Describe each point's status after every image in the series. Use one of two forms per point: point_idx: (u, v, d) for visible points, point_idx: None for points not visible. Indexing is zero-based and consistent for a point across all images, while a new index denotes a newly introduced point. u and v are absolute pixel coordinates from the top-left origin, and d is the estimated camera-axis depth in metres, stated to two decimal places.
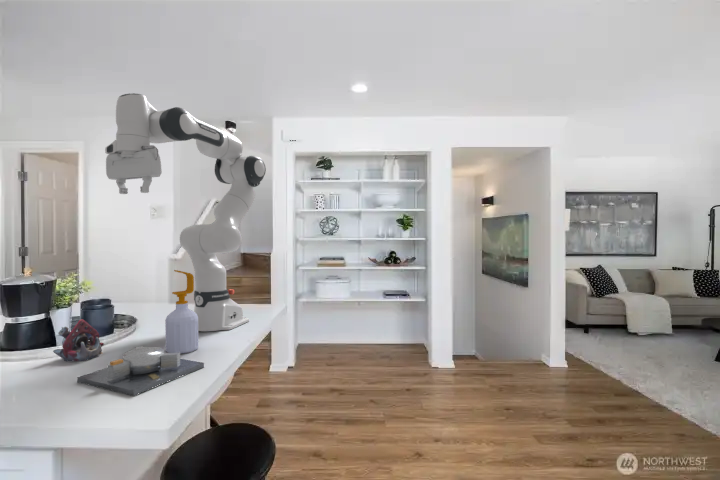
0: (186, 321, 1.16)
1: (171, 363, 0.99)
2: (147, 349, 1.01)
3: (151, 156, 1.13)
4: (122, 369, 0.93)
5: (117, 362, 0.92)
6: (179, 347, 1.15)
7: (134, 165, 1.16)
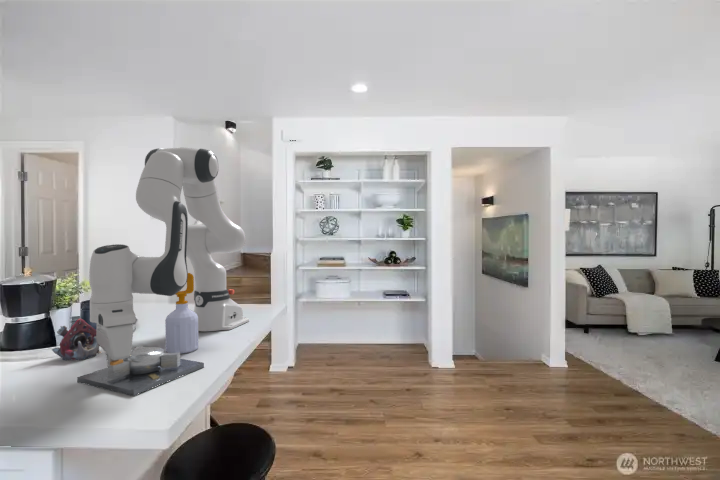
0: (186, 321, 1.16)
1: (171, 363, 0.99)
2: (147, 349, 1.01)
3: None
4: (122, 369, 0.93)
5: (117, 362, 0.92)
6: (179, 347, 1.15)
7: None
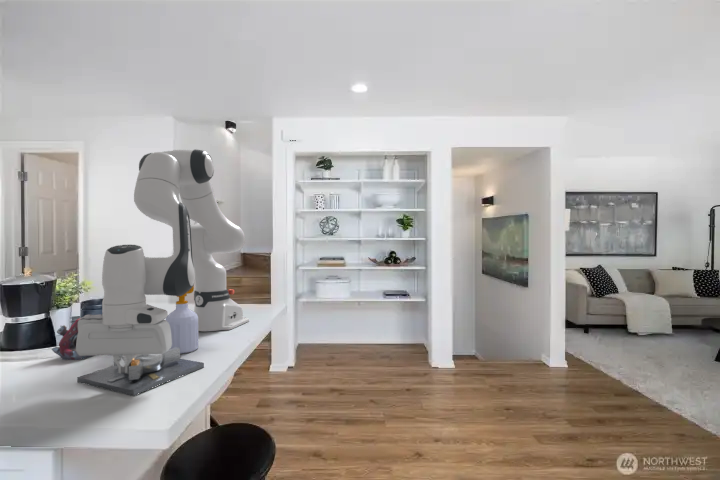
0: (186, 321, 1.16)
1: (174, 357, 1.03)
2: None
3: None
4: (141, 368, 0.93)
5: (137, 362, 0.92)
6: (179, 347, 1.15)
7: None
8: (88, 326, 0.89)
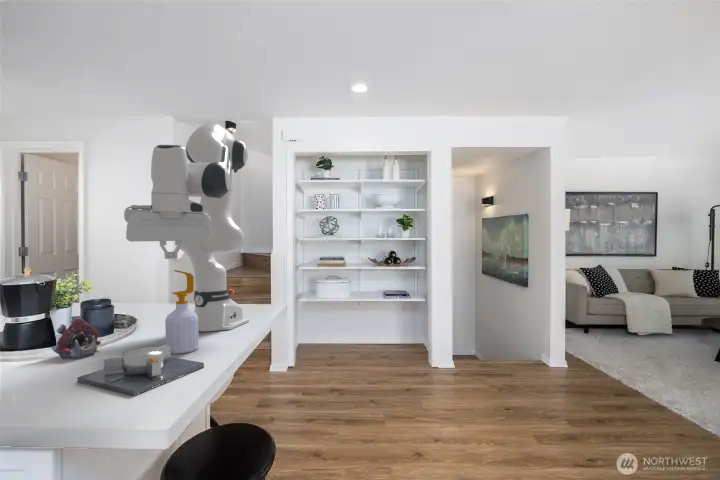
0: (186, 321, 1.16)
1: (166, 354, 1.05)
2: (135, 351, 0.99)
3: None
4: None
5: None
6: (179, 347, 1.15)
7: None
8: (139, 214, 0.97)
